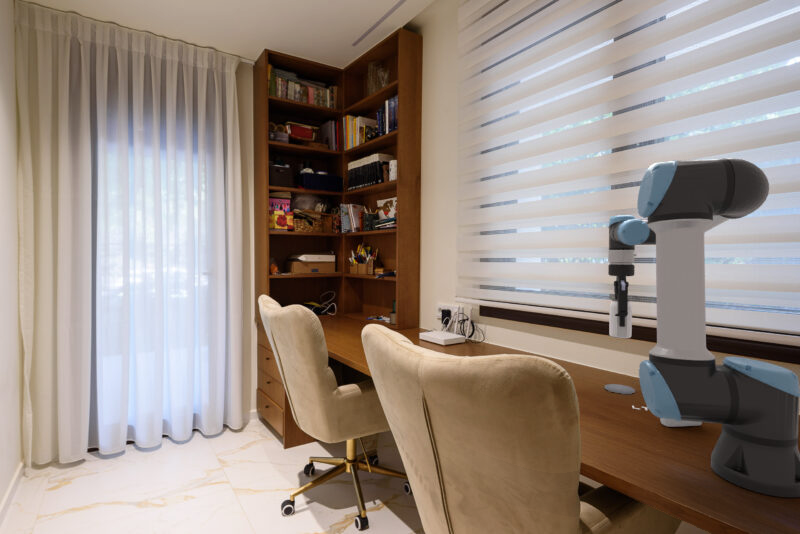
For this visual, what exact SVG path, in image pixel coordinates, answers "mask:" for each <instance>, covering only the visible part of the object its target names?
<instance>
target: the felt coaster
mask: <svg viewBox="0 0 800 534" xmlns="http://www.w3.org/2000/svg"><path fill="white" fill-rule="evenodd" d="M603 387H604V388H605V389H606V390H605V389H604V388H603V389H604V390H605V391H607V390H608V391H607V392H609V391H611V392H610V393H612V392H615V393H614V394H616V393H621V394H620V395H626V394H627V395H633V394H632V393H634V394H635V393H636V389H635V388H633V387H631V386H629V385H624V384H615V383H610V384H605V385H604V386H603Z"/></svg>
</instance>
